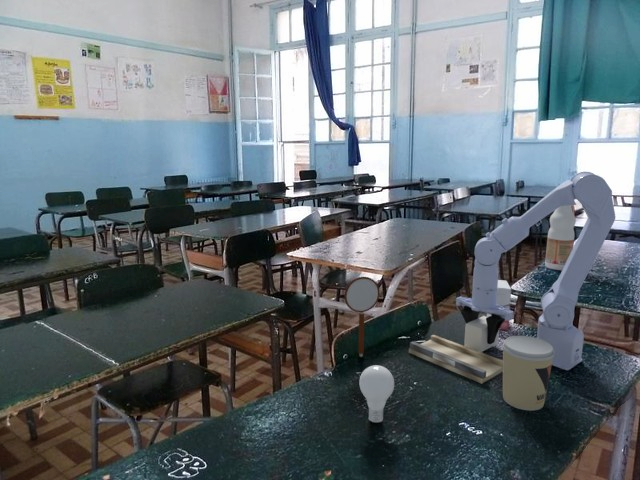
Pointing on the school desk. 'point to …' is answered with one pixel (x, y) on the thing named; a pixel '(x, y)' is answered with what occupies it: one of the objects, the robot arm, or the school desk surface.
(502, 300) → the ink box
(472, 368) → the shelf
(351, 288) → the magnifying glass
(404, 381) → the school desk surface
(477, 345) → the carton
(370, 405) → the lightbulb
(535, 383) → the cream lidded canister
